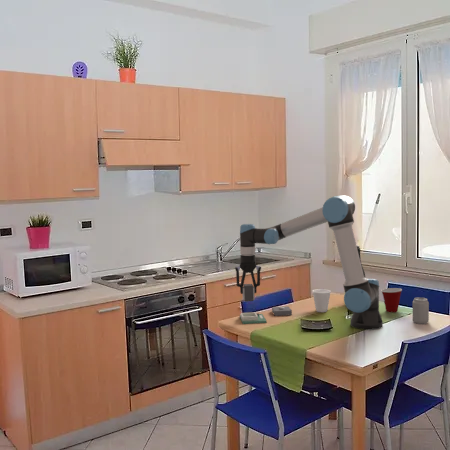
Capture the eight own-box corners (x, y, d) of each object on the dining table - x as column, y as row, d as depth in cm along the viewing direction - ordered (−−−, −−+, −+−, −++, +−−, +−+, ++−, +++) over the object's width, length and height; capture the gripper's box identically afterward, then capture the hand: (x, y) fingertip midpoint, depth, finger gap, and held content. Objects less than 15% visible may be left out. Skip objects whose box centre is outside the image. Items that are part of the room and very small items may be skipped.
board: (266, 322, 273) (266, 316, 272) (242, 323, 272) (242, 318, 271) (262, 315, 287) (262, 310, 286) (239, 316, 286) (239, 311, 285)
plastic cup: (385, 307, 297) (385, 286, 296) (405, 310, 290) (405, 288, 289) (377, 311, 288) (377, 289, 287) (397, 314, 281) (397, 292, 280)
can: (429, 321, 268) (429, 297, 267) (427, 325, 261) (428, 300, 260) (413, 319, 271) (413, 296, 270) (411, 323, 265) (411, 299, 263)
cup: (330, 313, 287) (330, 293, 286) (311, 313, 289) (311, 292, 288) (331, 309, 297) (330, 289, 296) (312, 308, 299) (312, 288, 298)
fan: (291, 315, 286) (291, 309, 286) (274, 315, 286) (274, 310, 285) (288, 310, 295) (288, 305, 295) (272, 311, 294) (272, 306, 294)
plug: (253, 301, 275) (253, 285, 274) (244, 301, 275) (244, 285, 274) (252, 298, 280) (251, 283, 279) (243, 299, 280) (243, 284, 279)
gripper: (263, 252, 279) (264, 297, 281) (230, 254, 278) (230, 298, 280) (266, 255, 272) (266, 300, 274) (231, 256, 270) (232, 302, 273)
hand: (248, 299), depth 277 cm, fingers closed on plug, 4 cm apart
